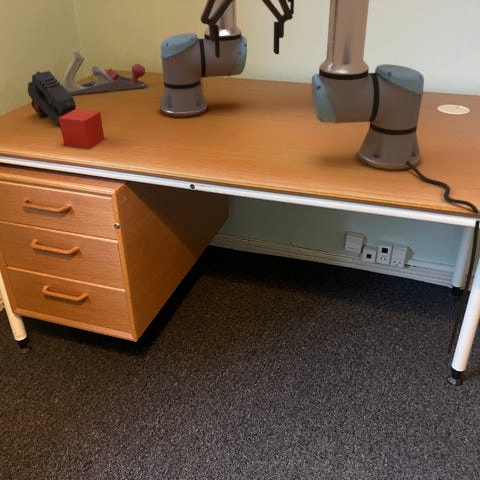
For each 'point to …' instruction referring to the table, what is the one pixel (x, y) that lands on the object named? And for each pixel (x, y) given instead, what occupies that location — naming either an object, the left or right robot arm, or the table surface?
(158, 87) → the table surface
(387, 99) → the right robot arm
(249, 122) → the table surface
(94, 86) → the hand plane
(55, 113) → the tool
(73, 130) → the block
